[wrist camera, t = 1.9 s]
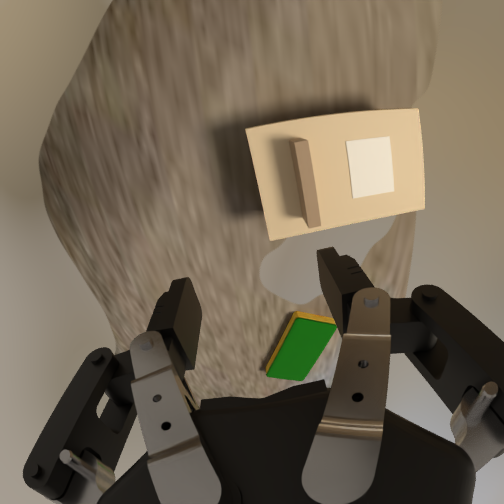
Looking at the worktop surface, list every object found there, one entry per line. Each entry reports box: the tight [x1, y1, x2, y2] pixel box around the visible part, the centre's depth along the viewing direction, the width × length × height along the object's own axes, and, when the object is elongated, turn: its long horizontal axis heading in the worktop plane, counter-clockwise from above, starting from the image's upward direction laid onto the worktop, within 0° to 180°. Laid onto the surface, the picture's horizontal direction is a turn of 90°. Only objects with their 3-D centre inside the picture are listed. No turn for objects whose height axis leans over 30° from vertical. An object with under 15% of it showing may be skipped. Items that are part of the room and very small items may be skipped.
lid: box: [245, 108, 425, 241], centre depth 27 cm, size 12×19×5 cm, turn 102°
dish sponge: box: [266, 311, 337, 381], centre depth 46 cm, size 7×14×2 cm, turn 163°
